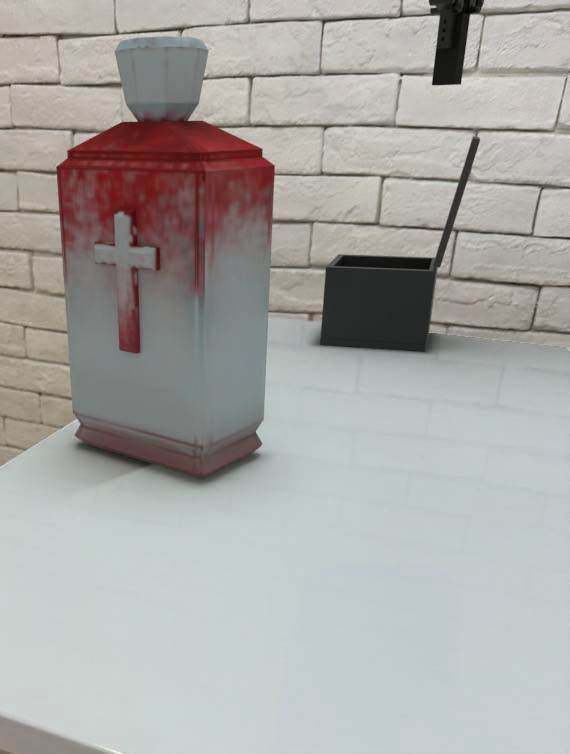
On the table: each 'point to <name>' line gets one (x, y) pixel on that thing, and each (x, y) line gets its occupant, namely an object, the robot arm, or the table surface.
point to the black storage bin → (378, 301)
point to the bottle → (167, 272)
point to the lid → (457, 200)
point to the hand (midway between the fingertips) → (446, 84)
